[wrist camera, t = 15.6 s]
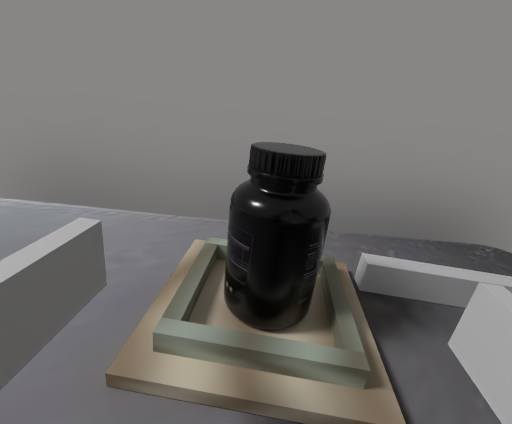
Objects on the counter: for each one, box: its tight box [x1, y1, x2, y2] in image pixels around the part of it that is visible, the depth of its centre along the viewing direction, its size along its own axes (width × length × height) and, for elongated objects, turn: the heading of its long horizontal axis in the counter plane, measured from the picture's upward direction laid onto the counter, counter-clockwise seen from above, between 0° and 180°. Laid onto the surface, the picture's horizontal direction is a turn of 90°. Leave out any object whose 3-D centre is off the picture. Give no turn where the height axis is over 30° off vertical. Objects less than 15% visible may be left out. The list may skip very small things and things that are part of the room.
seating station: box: [105, 237, 406, 424], centre depth 22 cm, size 16×16×2 cm
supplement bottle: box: [224, 142, 331, 330], centre depth 20 cm, size 7×7×12 cm
